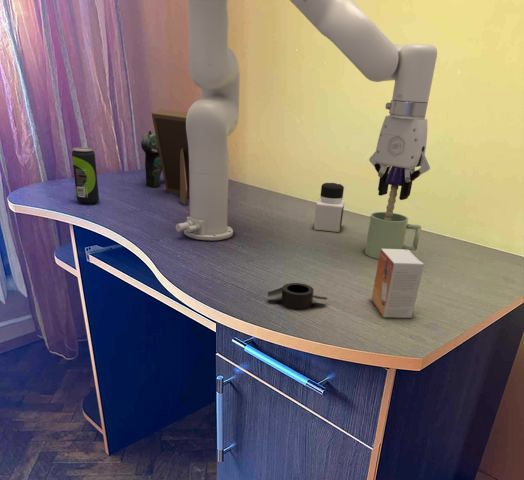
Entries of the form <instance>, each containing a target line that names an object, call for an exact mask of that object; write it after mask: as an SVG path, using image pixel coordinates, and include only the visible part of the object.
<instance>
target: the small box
mask: <svg viewBox="0 0 524 480" xmlns="http://www.w3.org/2000/svg"><path fill="white" fill-rule="evenodd" d="M424 266H425V263H423V262H422V261H420V260H419V258H418V257H417V256H415V255H414V254H413V252H412V250H404V249H381V250H380V256H379V259H378V262H377V268H376V273H375V277H374V282H373V289H372V294H371V299H370V300H371V301H372V302H373V304H374V305H375V307H376V309H377V310H378V312H379V313H380V315H381V316H382V318H403V319H411V318H412V317H413V314H414V309H415V305H416V301H417V297H418V292H419V287H420V284H421V280H422V275H423V272H424V268H425V267H424Z"/></svg>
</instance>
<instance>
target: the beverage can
mask: <svg viewBox="0 0 524 480" xmlns="http://www.w3.org/2000/svg"><path fill="white" fill-rule="evenodd" d="M71 150H72V152H71V158H72V159H71V160H72V168H73V176H74V186H75V195H76V201H77V202H78V203H79V204H81V205H85V206H86V205H87V206H90V205H96V204H98V203H99V201H100V196H99V195H100V194H99V186H98V185H99V183H98V173H97V162H96V154H95V153H96V152H94V148H91V147H73V148H71Z"/></svg>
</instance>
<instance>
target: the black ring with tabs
mask: <svg viewBox="0 0 524 480" xmlns="http://www.w3.org/2000/svg"><path fill="white" fill-rule="evenodd" d="M267 298H268V299H269V298H270V299H272V298H273V299H275V298H277V299H280V304H281V305H282V306H284V307H285V308H288V309H291V310H297V311H298V310H308V309H310V308H311V307H313V299H319V300H328V297H327V296H319V295H314V288H313V287H312V286H311V285H309V284H306V283H301V282H290V283H289V282H288V283H286V284H284V285H282V287H279V288H276V289H273V290H270V291H268V292H267Z"/></svg>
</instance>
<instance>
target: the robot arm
mask: <svg viewBox="0 0 524 480" xmlns="http://www.w3.org/2000/svg"><path fill="white" fill-rule="evenodd" d="M289 1H290V2H291V3H292V4H293V5H294V7H295V8H296V9H297V10H298V11H299V12H300V13H301V14H302V15H303V16H304V17H305V18H306V20H307V21H309V23H311V25H312V26H313V27H314V28H315V29H316V30H317V31H318V32H319V33H320V34H321V35H322V36H324V37H325V38H326V39H328V41H330V42H331V43H333V45H334V46H335V47H336V48H337V49H338V50H339V51H340V52H341V53H342V54H343V55H344V56H345V57H346V58H347V59H348V60H349V61H350V63H352V65H353V66H355V68H356V69H357V70H358V71H359V72H360V73H361V74H362V75H363V77H365V78H366V79H367V80H369V81H371V82H375V83H379V82H389V81H394V84H393V85H394V86H393V92H392V97H391V100H390V102H386V103H385V109H386V110H388V111H389V112H388V114H389V115H385V117H384V119H383V123H382V125H381V128H380V131H379V135H378V139H377V143H376V148H375V151H374V153H373V154H372V155H371V156H370V157H369V160H368V161H369V162H370V163H371V165H372V166H373V167H374V170H375V171H376V173H377V176H378V178H379V179H378V180H379V181H378V187H377V191H378V192H377V193H378V196H380V197H381V196H384V195H388V190H389V184H387V183H385V180H386V178H387V176H388V173H389V171H390V169H391V167H392V166H395V167H401V168H405V181H404V182H402V186H400V191H399V197H398V199H399V200H400V201H404V200H407V199H408V198H409V196H410V195H411V191H412V186H413V182H414V181H415V180H416V179H418V178H419V177H420V176H421V175H423V174H425V173H427V172H429V171H430V170H431V166H430V163H429V162H428V159H427V157H426V149H427V143H428V119H426V114H427V111H428V104H429V98H430V94H431V89H432V83H433V78H434V73H435V68H436V63H437V58H438V49H437V48H436V46H435V45H433V44H428V43H427V44H426V43H405V44H403V45H402V44H397V43H393V42H392V41H391V40H390V38H389V37H388V36H387V35H386V34H385V33H384V32H383V31H382V30H381V29H380V28H379V27H378V26H377V25H376V23H375V22H374V21H373V20H372V19H371V18H370V17H369V16H368V15H367V14H366V13H365V12H364V11H363V10H362V9H361V7H360V6H359V5H358V3H357V2H356V1H355V0H289ZM187 2H188V3H187V4H188V71H189V76H190V78H191V80H192V82H193V83H194V85H196V86H197V88H199V89H200V90H201V91H200V92H201V94H200V95H201V97H200V98H199V99H197V100H195V101H194V102H193V103H192V104H191V106H189V108H188V111H187V112H186V113H187V117H186V132H187V140H188V150H189V193H190V196H189V216H186V220H185V221H184V222H180V223H176V224H175V231H176V232H178V233H181V232H183V234H184V235H185V236H186V237H188V238H190V239H194V240H200V241H222V240H223V241H224V240H226V239H230V238H231V237H232V236H233V235H234V229H233V228H232V227H231V226H229V225H228V213H229V211H228V209H229V207H228V205H229V168H230V167H229V166H230V165H229V164H230V160H229V159H230V158H229V157H230V155H229V144H228V143H229V142H228V136H230V135H231V134H233V132H234V131H235V130H236V129H237V126H238V123H239V118H240V78H241V77H240V73H241V71H240V64H239V61H238V57H237V55H236V53H235V52H234V50H232V49H231V48H230V47H229V11H228V0H187ZM418 167H419V168H418ZM416 168H418V169H416Z"/></svg>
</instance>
